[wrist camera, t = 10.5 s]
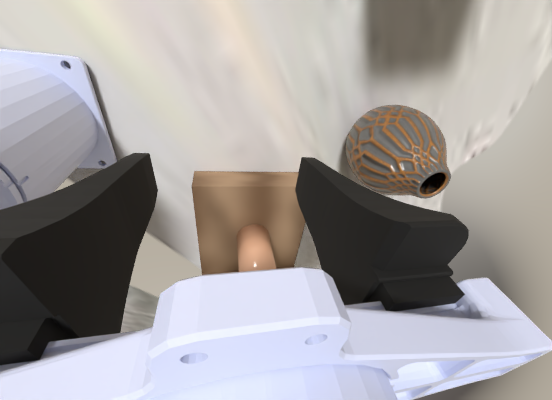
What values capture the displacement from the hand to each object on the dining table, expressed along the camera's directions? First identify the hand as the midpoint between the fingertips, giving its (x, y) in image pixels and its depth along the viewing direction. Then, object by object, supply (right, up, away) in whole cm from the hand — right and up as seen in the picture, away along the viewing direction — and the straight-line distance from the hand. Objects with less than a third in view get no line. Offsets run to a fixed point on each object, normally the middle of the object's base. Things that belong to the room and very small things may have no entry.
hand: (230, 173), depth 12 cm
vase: (+11, +5, +11) cm, 17 cm away
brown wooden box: (-1, -4, +15) cm, 15 cm away
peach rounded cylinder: (0, -5, +13) cm, 14 cm away
